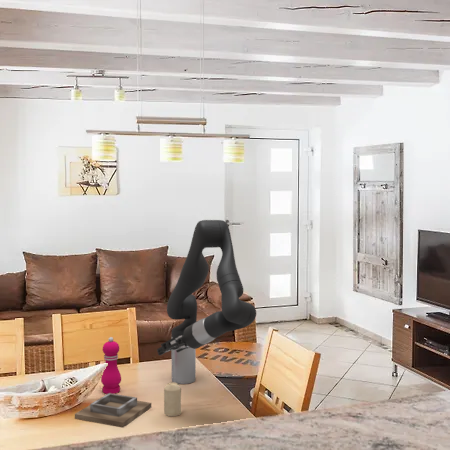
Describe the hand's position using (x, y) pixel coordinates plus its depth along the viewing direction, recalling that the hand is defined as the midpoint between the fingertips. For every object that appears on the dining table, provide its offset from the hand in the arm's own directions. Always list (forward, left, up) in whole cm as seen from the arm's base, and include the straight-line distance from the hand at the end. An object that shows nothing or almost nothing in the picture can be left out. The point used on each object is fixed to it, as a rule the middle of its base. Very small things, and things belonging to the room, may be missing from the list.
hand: (167, 351), depth 193 cm
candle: (0, +2, -21) cm, 21 cm away
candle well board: (+7, -16, -21) cm, 27 cm away
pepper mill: (-10, -28, -21) cm, 36 cm away
